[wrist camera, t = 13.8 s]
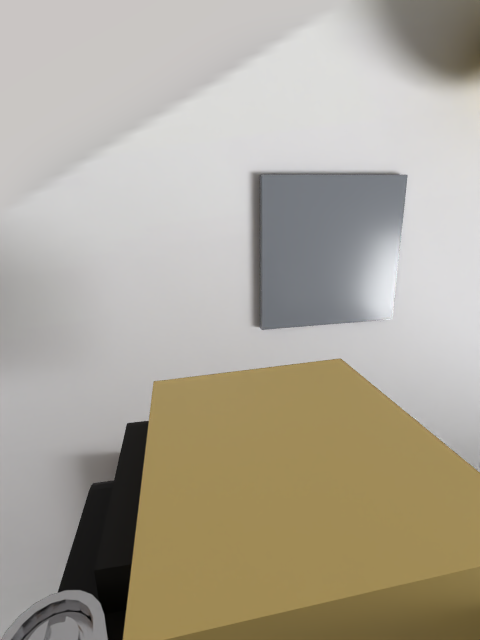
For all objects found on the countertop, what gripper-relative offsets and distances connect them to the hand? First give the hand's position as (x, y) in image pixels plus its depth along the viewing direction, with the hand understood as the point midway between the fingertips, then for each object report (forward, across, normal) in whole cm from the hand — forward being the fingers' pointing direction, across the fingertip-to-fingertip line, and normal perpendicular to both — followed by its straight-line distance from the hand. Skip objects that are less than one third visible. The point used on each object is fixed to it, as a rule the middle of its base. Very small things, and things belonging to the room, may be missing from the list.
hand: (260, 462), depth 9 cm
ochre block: (+1, 0, 0) cm, 1 cm away
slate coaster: (+11, -7, -4) cm, 14 cm away
